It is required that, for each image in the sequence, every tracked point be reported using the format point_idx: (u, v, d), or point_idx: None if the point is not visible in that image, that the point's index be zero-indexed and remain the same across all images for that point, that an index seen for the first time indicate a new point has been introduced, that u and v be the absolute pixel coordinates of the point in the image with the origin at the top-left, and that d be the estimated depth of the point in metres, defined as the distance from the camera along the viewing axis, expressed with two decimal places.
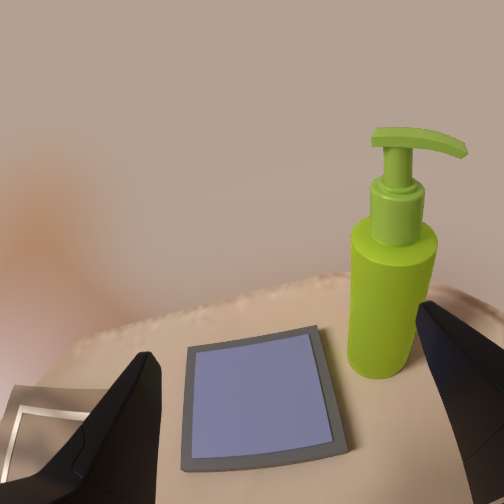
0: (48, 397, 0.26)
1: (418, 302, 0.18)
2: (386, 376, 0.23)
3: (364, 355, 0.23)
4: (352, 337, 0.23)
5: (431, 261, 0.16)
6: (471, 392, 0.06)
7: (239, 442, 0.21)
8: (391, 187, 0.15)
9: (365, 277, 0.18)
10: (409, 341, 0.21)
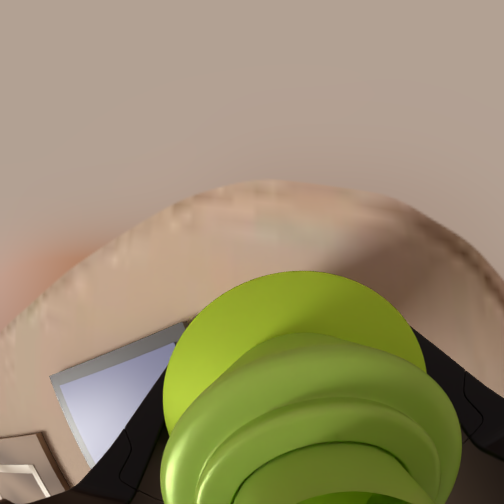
0: None
1: None
2: None
3: None
4: None
5: None
6: None
7: None
8: None
9: None
10: None
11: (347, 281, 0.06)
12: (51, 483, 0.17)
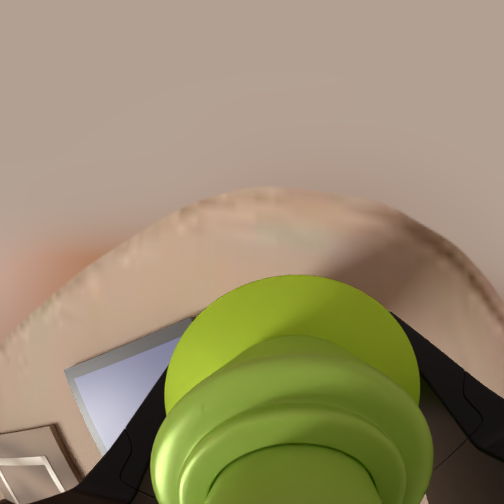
0: (1, 445, 0.20)
1: None
2: None
3: None
4: None
5: None
6: (425, 411, 0.06)
7: None
8: None
9: None
10: None
11: (339, 284, 0.06)
12: (63, 473, 0.19)
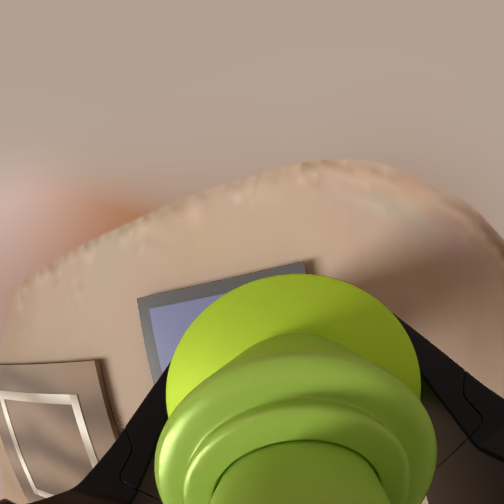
0: (17, 377, 0.23)
1: None
2: None
3: None
4: None
5: None
6: None
7: None
8: None
9: None
10: None
11: (341, 283, 0.06)
12: (94, 416, 0.21)
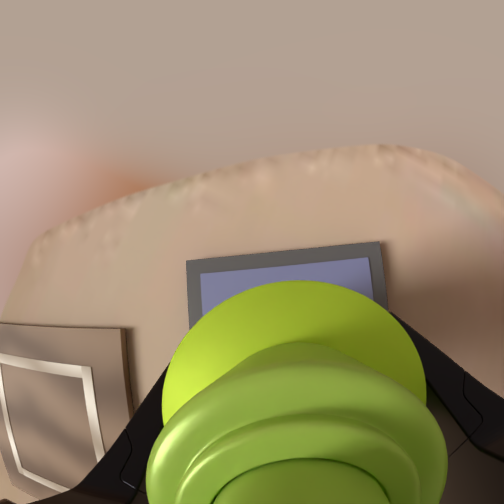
0: (19, 340, 0.21)
1: None
2: None
3: None
4: None
5: None
6: None
7: None
8: None
9: None
10: None
11: (344, 290, 0.06)
12: (109, 395, 0.19)
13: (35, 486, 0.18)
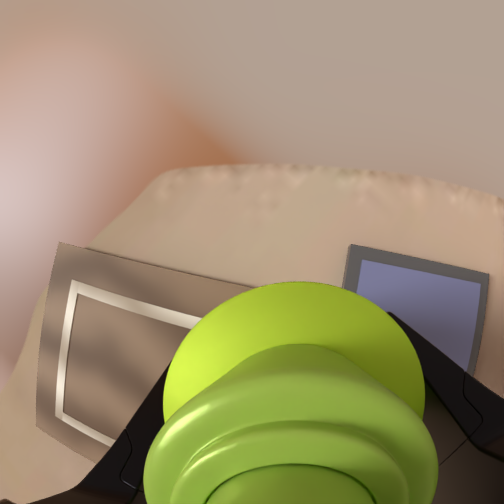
0: (118, 274, 0.24)
1: None
2: None
3: None
4: None
5: None
6: (424, 411, 0.06)
7: None
8: None
9: None
10: None
11: (343, 291, 0.06)
12: None
13: (73, 435, 0.21)
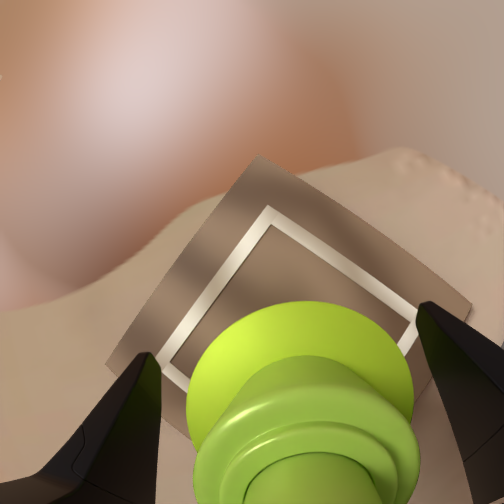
0: (339, 226, 0.21)
1: None
2: None
3: None
4: None
5: None
6: (471, 392, 0.06)
7: None
8: None
9: None
10: None
11: (344, 310, 0.07)
12: None
13: (169, 394, 0.20)
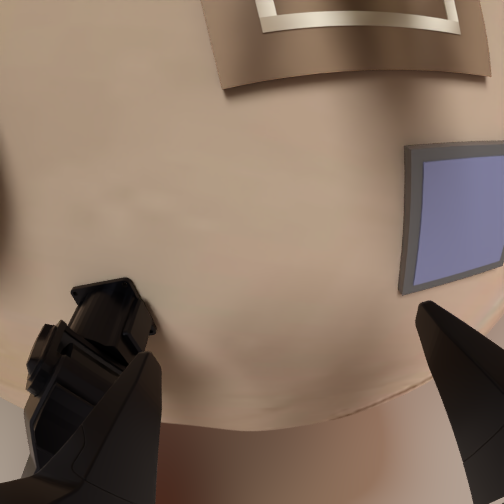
0: None
1: None
2: None
3: None
4: None
5: None
6: (471, 392, 0.06)
7: (434, 210, 0.20)
8: None
9: None
10: None
11: None
12: (440, 50, 0.14)
13: None
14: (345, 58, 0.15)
